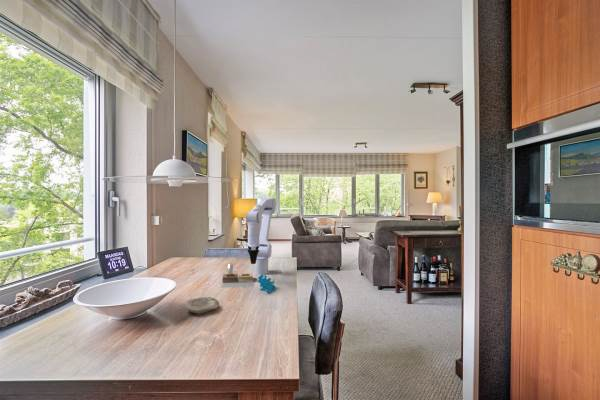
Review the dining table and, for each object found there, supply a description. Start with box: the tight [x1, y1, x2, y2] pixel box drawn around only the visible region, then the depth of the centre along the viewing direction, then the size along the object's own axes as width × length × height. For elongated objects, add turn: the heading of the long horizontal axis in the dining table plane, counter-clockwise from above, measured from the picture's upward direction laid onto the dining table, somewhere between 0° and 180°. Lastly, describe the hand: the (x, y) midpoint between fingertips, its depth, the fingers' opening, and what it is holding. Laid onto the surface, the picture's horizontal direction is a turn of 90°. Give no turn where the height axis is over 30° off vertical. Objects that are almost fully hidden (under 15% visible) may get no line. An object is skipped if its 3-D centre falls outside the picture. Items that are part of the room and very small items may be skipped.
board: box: [221, 276, 255, 288], centre depth 147 cm, size 16×15×1 cm
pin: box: [227, 263, 234, 277], centre depth 149 cm, size 2×2×8 cm
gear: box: [257, 274, 277, 294], centre depth 134 cm, size 11×6×10 cm
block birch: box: [238, 272, 254, 282], centre depth 150 cm, size 7×7×2 cm
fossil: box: [185, 296, 220, 315], centre depth 112 cm, size 11×12×3 cm
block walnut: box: [222, 273, 239, 283], centre depth 149 cm, size 7×7×2 cm
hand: (253, 262), depth 150 cm, fingers open, 7 cm apart
